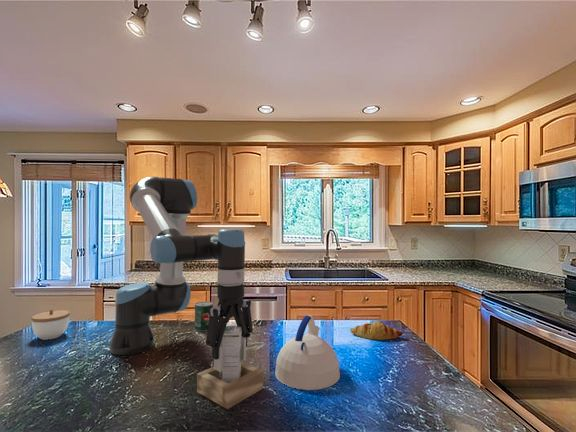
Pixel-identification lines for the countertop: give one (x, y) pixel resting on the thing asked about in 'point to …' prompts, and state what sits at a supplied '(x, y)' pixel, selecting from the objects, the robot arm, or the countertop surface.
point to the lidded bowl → (50, 324)
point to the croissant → (376, 331)
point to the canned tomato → (202, 315)
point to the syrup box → (231, 354)
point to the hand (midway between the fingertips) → (230, 364)
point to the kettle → (307, 360)
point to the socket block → (230, 385)
